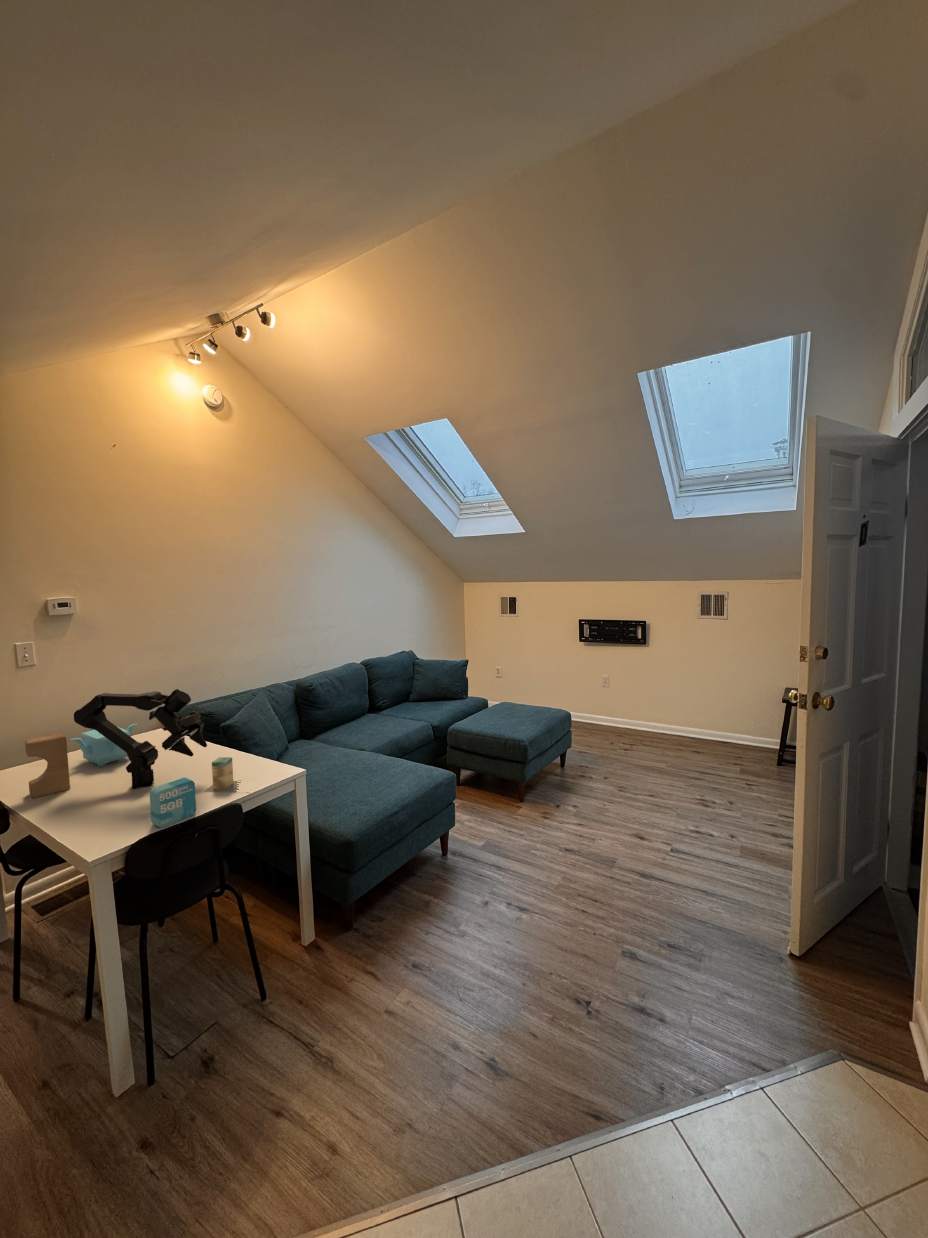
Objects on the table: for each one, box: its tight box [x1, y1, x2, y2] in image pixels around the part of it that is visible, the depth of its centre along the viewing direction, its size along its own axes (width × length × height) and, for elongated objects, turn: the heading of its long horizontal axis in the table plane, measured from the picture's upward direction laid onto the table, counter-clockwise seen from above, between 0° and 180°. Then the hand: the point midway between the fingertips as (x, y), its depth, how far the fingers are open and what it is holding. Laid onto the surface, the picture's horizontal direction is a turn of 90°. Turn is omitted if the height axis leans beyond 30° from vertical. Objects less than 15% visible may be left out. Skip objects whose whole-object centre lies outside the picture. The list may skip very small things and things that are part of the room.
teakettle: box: [69, 723, 138, 768], centre depth 213 cm, size 19×19×15 cm
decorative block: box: [24, 732, 71, 799], centre depth 184 cm, size 11×6×20 cm, turn 134°
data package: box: [149, 777, 197, 829], centre depth 164 cm, size 12×4×12 cm, turn 146°
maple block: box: [211, 756, 234, 789], centre depth 188 cm, size 5×5×10 cm
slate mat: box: [203, 779, 241, 794], centre depth 188 cm, size 17×10×1 cm, turn 86°
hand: (199, 751), depth 189 cm, fingers open, 9 cm apart
